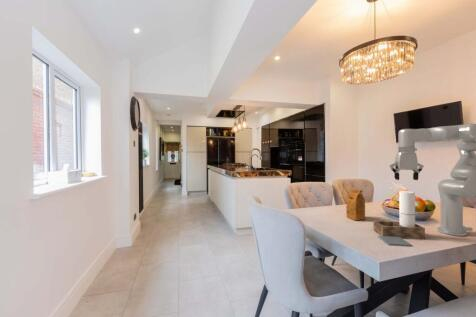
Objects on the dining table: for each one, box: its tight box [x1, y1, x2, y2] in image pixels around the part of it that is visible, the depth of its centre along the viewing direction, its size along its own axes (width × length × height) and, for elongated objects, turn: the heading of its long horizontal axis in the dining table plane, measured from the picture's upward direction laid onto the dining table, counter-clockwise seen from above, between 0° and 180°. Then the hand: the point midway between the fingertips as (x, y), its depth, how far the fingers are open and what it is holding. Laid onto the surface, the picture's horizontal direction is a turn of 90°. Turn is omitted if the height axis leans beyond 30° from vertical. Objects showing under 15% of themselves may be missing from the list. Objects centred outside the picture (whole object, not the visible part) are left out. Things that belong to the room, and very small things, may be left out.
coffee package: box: [345, 187, 366, 221], centre depth 159 cm, size 10×12×22 cm
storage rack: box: [372, 220, 426, 240], centre depth 126 cm, size 21×11×6 cm, turn 81°
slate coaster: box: [377, 235, 413, 247], centre depth 116 cm, size 11×11×1 cm
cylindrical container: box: [398, 190, 416, 227], centre depth 125 cm, size 7×7×25 cm
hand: (406, 179), depth 125 cm, fingers open, 9 cm apart
